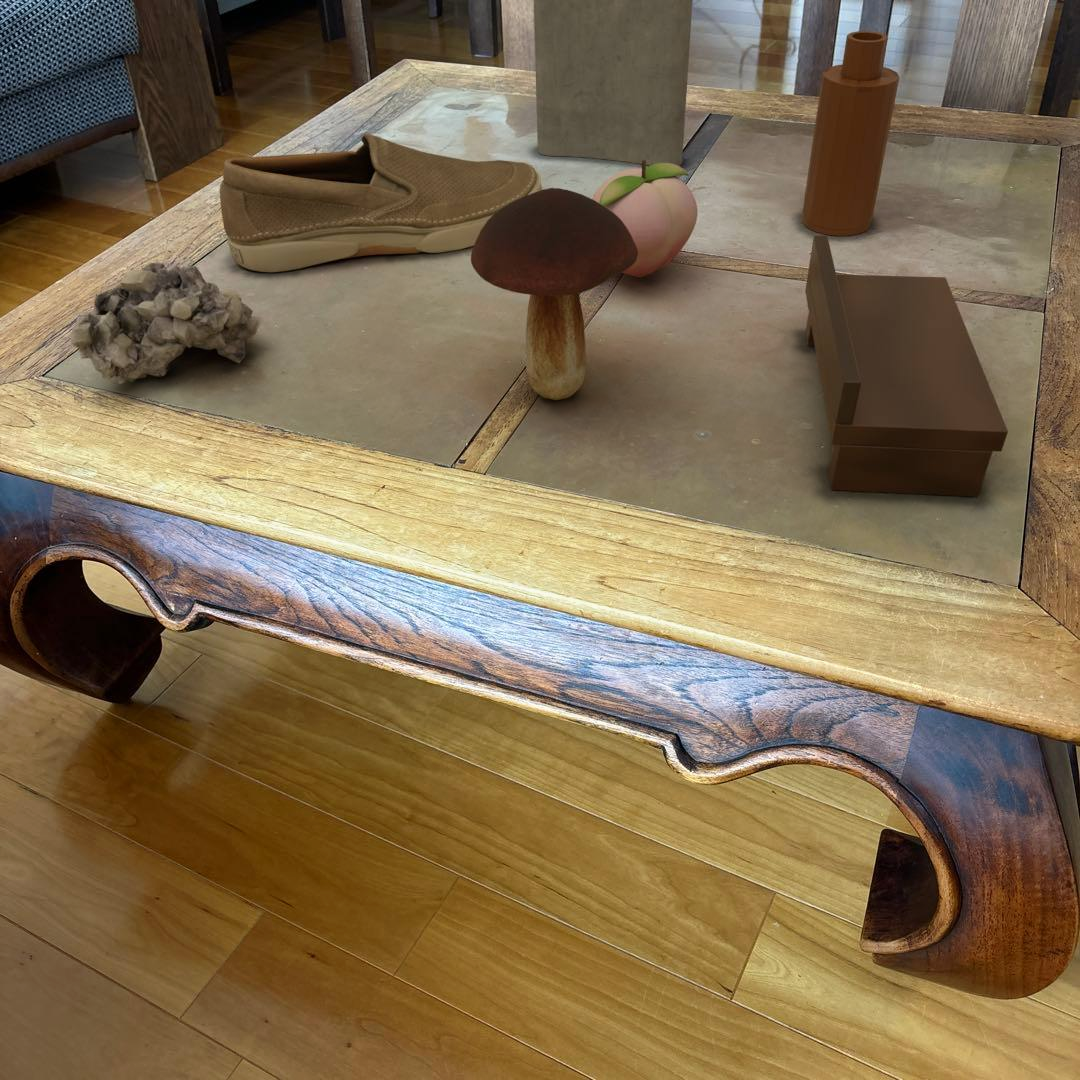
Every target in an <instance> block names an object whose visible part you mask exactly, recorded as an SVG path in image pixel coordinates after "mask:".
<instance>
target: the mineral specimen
mask: <svg viewBox="0 0 1080 1080" xmlns="http://www.w3.org/2000/svg"><path fill="white" fill-rule="evenodd" d="M93 302H94V305H93V313H92V312H88V311H85V312H84V313H83V315H81V316H78V318H77V320H76V322H75V323H74V326H73V328H72V329H71V333H70V337H69V338H70V342H71V345H73V346H75V347H76V348H77V349H78V353H79V357H80V359H81V360H85V359H89V360H91V363H92V366H93V368H94V370H95V371H96V372H99V373H100V374H101V376H102V378H103V379H104V380H105V379H106V380H110V379H112V378H113V379H114V378H116V379H117V383H118V384H124V383H126V382H131V383H133V382H135V381H136V380H137V379H145V378H147V376H148V375H149V376H154V377H164V376H165V375H167V373H168V372H169V371H170V370H171V367H170V366H169V365H170V363H171V362H172V361H173V360H174V359H176V358H178V357H180V356H182V354H183V352H184V350H185V349H186V347H187V348H189V349H191V348H192V347H193V348H200V349H204V350H206V351H207V350H209V351H212V350H214V349H216V351H217V354H218V355H220V356H223V357H225V358H227V359H228V360H230V361H232V362H234V363H237V364H240V363H241V362H242V361H243V360H244V359H245V357H246V348H245V340H250V339H253V338H254V336H255V335H256V334H257V332H258V331H259V329H260V327H261V325H262V323H263V317H262V316H258V315H257V316H253V309H251V307H249V306H248V305H247V304H245V303H244V302H243V301H242V296H241V295H240V294H239V293H238V291H237V290H228V289H227V290H222V291H220V289H219V286H218V285H217V284H216V283H214V282H206V280H205V278H204V276H203V274H202V272H201V271H200V270H199V268H198V267H197V265H190V266H187V265H182V267H179V266H178V265H175V266H174V267H172V268H171V269H169V270H168V269H167V268H166V265H165V264H164V263H162V262H160V261H159V262H150V263H148V264H147V265H145V266H144V267H143V268H142V269H131V270H129V271H127V272H126V273H125V274H124V276H123V279H122V280H121V281H120V282H119V284H118V285H116V286H115V287H114V288H112V289H110V290H106V291H103V292H100V293H99V294H97V293H95V297H94V300H93Z"/></svg>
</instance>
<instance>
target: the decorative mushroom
mask: <svg viewBox="0 0 1080 1080" xmlns="http://www.w3.org/2000/svg"><path fill="white" fill-rule="evenodd" d="M637 257H638V250H637V246H636V244H635V242H634V240H633V238H632V236H631V234H630V232H629V231H628V229H627V227H626V226H625V224H624V223H623V222H622V220H621V219H620V218H619V217H618V216H617V215H615V214H614V213H613V212H612V211H610V210H609V209H607V208H606V207H604V206H603V205H601V204H599V203H598V202H596V201H595V200H593V199H592V197H588V196H586V195H584V194H582V193H580V192H576V191H572V190H568V189H564V188H559V187H557V188H556V187H549V188H545V189H544V188H542V190H540V191H538V192H535V193H532V194H530V195H527V196H524V197H522V198H520V199H517V200H515V201H513V202H511V203H509V204H508V205H506V206H505V207H503V208H501V209H500V210H498V211H497V212H496V213H495V214H494V215H493V216H492V217H491V218H490V219H489V220H488V221H487V222H486V224H485V225H484V226H483V228H482V229H481V231H480V233H479V235H478V237H477V239H476V242H475V244H474V245H473V246H472V251H471V254H470V264H471V266H472V268H473V269H474V271H475V272H476V274H477V275H478V276H479V277H480V278H481V279H482V280H484V281H485V282H487V283H489V284H490V285H492V286H494V287H497V288H500V289H502V290H504V291H509V292H512V293H517V294H522V295H529V300H528V306H527V316H526V327H525V329H526V330H525V331H526V332H525V333H526V334H525V367H526V368H525V369H526V375H527V379H528V383H529V386H530V387H531V388H532V390H533V391H534V392H535V393H536V394H537V395H539V396H541V397H542V398H544V399H548V400H553V401H560V400H565V399H568V398H569V397H571V396H573V395H574V394H575V393H576V392H577V391H578V390H580V389H581V388H582V385H583V383H584V381H585V374H586V370H587V369H586V367H587V354H586V353H587V352H586V351H587V349H586V348H587V347H586V345H587V344H586V335H585V320H584V314H583V308H582V304H581V297H580V294H583V293H585V292H588V291H591V290H592V289H594V288H596V287H598V286H601V285H602V284H603V283H606V282H607V281H609V280H610V279H612V278H614V277H615V276H617V275H619V274H621V273H622V272H623V271H625V270H627V269H629V268H630V267H631V266H632V265H633V264H634V263H635V262H636V260H637Z"/></svg>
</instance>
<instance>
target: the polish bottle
mask: <svg viewBox="0 0 1080 1080" xmlns="http://www.w3.org/2000/svg"><path fill="white" fill-rule="evenodd" d="M888 40H889V38H888V35H886V34H884V33H882V32H880V31H872V30H858V31H852V32H849V33H848V34H847V35H846V38H845V46H844V50H843V51H844V52H843V59H842V63H841V64H836V65H833V66H830V67H827V68H825V69H824V71H823V72H822V76H821V82H820V90H819V96H818V101H817V109H816V117H815V123H814V130H813V137H812V144H811V150H810V151H811V152H810V158H809V165H808V172H807V179H806V185H805V192H804V197H803V198H804V199H803V206H802V215H801V216H802V217H801V222H802V224H803V225H804V226H805V227H806V228H807V229H809V230H810V231H813V232H816V233H817V234H818V233H819V234H822V235H826V236H836V237H837V236H838V237H847V236H855V235H859V234H862V233H864V232H866V231H867V230H869V229H870V227H871V224H872V220H873V217H874V212H875V206H876V203H877V202H876V201H877V195H878V191H879V187H880V181H881V177H882V176H881V175H882V170H883V164H884V160H885V154H886V149H887V145H888V139H889V134H890V130H891V129H890V128H891V123H892V118H893V113H894V108H895V103H896V98H897V92H898V87H899V83H900V76H899V73H898V72H897V71H895V70H893V69H891V68H889V67H886V66H884V61H885V55H886V50H887V45H888Z"/></svg>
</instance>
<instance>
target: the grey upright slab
mask: <svg viewBox="0 0 1080 1080" xmlns="http://www.w3.org/2000/svg"><path fill="white" fill-rule="evenodd" d="M692 14H693V0H533V29H534V58H535V59H534V63H535V64H534V65H535V66H534V67H535V94H536V95H535V97H536V98H535V101H536V104H535V105H536V136H537V153H539V154H540V155H543V156H547V157H571V158H572V157H575V158H587V159H598V160H608V161H615V162H616V161H617V162H626V163H633V164H637V165H642V160H646V166H650V165H653V164H657V163H671V164H675V165H678V166H680V167H681V166H682V164H683V158H684V157H683V156H684V142H685V141H684V138H685V125H686V123H685V122H686V109H687V93H688V92H687V91H688V79H689V78H688V77H689V63H690V62H689V61H690V45H691V33H692V32H691V31H692V17H693V15H692Z"/></svg>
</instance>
